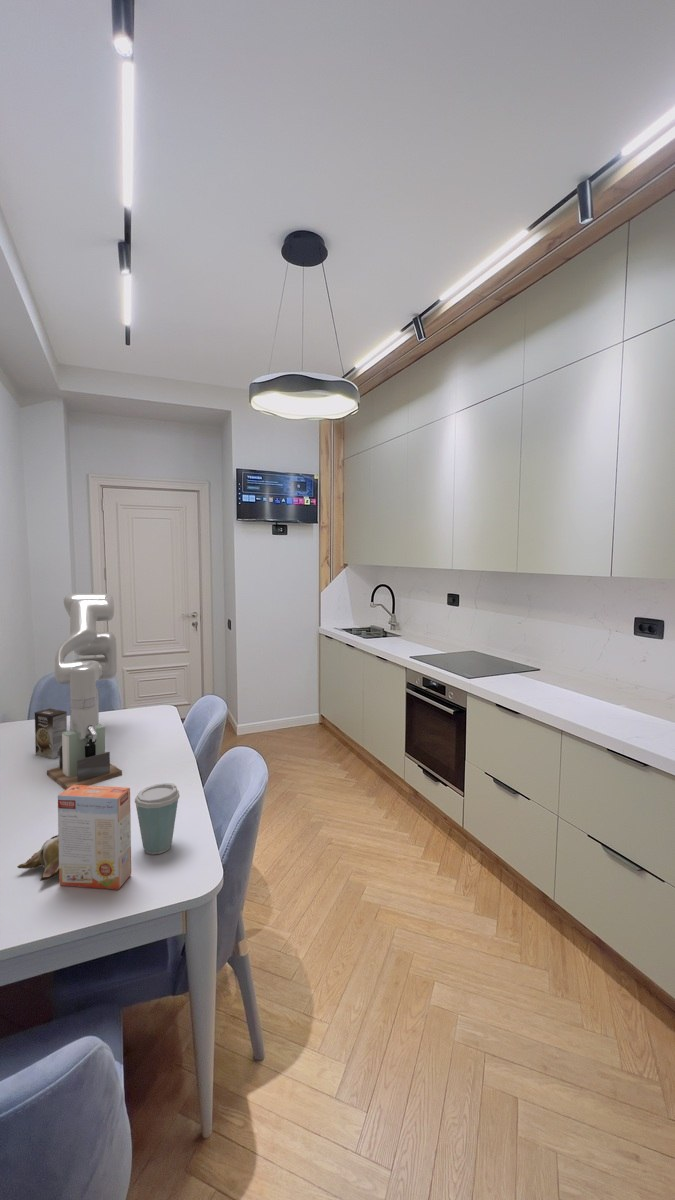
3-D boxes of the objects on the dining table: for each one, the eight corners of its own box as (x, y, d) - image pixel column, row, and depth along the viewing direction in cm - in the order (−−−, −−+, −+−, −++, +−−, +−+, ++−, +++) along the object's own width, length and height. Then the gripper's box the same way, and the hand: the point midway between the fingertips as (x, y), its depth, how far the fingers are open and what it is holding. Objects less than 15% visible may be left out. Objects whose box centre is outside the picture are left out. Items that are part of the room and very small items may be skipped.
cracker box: (132, 874, 114) (131, 786, 113) (118, 891, 108) (117, 798, 107) (75, 869, 116) (73, 782, 114) (58, 886, 110) (56, 794, 108)
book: (62, 774, 163) (62, 732, 162) (100, 763, 172) (99, 724, 171) (67, 777, 161) (66, 735, 160) (105, 766, 170) (104, 726, 169)
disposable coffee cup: (135, 863, 118) (134, 802, 117) (134, 840, 128) (133, 784, 127) (181, 854, 122) (181, 795, 121) (177, 832, 132) (177, 777, 131)
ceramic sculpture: (102, 822, 120) (39, 856, 107) (105, 855, 121) (43, 893, 108) (76, 810, 125) (13, 842, 113) (78, 842, 126) (16, 877, 114)
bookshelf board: (46, 774, 166) (46, 749, 165) (98, 760, 179) (98, 737, 178) (68, 791, 154) (67, 765, 154) (121, 775, 167) (121, 750, 166)
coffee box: (34, 755, 182) (33, 712, 181) (50, 749, 188) (49, 707, 187) (52, 759, 179) (51, 715, 178) (68, 753, 185) (67, 710, 184)
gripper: (61, 699, 168) (62, 749, 169) (82, 710, 156) (83, 763, 157) (84, 695, 173) (85, 743, 174) (106, 705, 162) (107, 756, 163)
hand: (84, 752), depth 166 cm, fingers open, 9 cm apart
